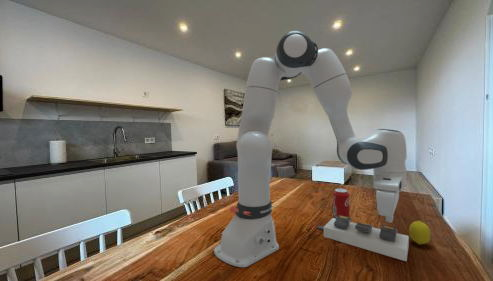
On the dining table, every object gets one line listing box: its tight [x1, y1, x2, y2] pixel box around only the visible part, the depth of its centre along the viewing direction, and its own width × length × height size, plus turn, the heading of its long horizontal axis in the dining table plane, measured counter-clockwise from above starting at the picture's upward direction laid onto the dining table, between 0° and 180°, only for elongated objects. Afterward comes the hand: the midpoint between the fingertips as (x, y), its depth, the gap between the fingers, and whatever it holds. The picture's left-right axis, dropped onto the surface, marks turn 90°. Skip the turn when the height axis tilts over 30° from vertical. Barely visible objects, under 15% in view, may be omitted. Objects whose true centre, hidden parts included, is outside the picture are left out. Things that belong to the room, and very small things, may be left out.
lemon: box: [408, 220, 432, 246], centre depth 70 cm, size 6×6×8 cm
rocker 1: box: [334, 215, 352, 229], centre depth 78 cm, size 6×4×2 cm, turn 140°
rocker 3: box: [380, 224, 398, 242], centre depth 69 cm, size 6×4×2 cm, turn 140°
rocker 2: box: [355, 221, 373, 232], centre depth 73 cm, size 6×4×2 cm, turn 140°
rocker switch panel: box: [317, 217, 410, 262], centre depth 74 cm, size 10×28×4 cm, turn 50°
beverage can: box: [332, 188, 350, 219], centre depth 93 cm, size 6×6×12 cm
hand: (389, 220), depth 70 cm, fingers closed
